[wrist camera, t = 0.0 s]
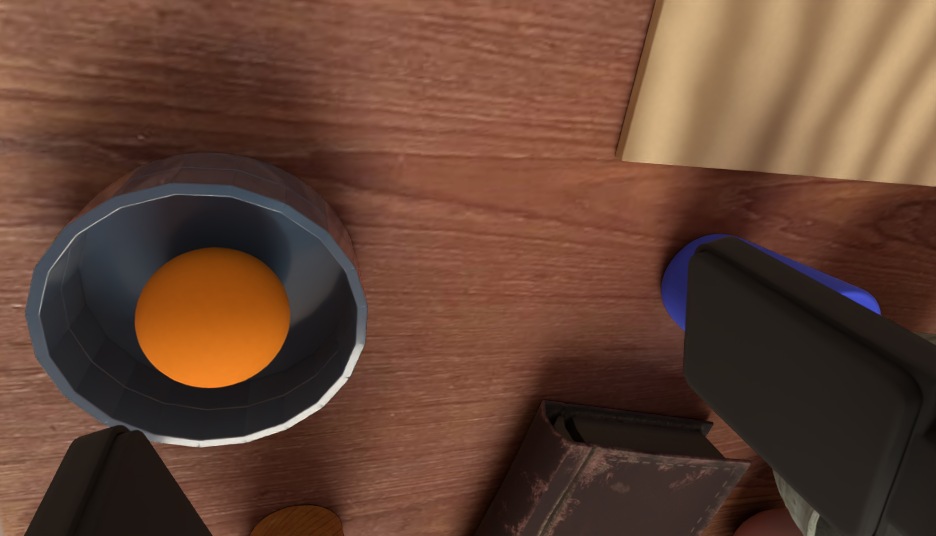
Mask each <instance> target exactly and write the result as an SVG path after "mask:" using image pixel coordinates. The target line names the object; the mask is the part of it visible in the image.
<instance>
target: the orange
mask: <svg viewBox="0 0 936 536" xmlns="http://www.w3.org/2000/svg"><path fill="white" fill-rule="evenodd" d="M289 323H290V306H289V300H288V297H287V293H286V291H285V289H284V287H283V285H282V283H281V281H280V280H279V278H278V277H277V275H276V274H275V273H274V272H273V271H272V270H271V269H270V268H269V267H268V266H267V265H266V264H265V263H263V262H262V261H260V260H259V259H257V258H256V257H254V256H252V255H250V254H247V253H245V252H242V251H239V250H235V249H230V248H222V247H210V248H201V249H196V250H193V251H190V252H186V253H184V254H181V255H179V256H177V257H175V258H173V259H171V260H170V261H168V262H167V263H165V264H164V265H163V266H162V267H160V268H159V269H158V270H157V271H156V272H155V273H154V274H153V275H152V276H151V278H150V279H149V280H148V282H147V283H146V285H145V286H144V288H143V289H142V292H141V294H140V297H139V299H138V302H137V306H136V311H135V329H136V334H137V338H138V341H139V344H140V346H141V348H142V350H143V352H144V354H145V355H146V357H147V358H148V360H149V361H150V362H151V363H152V364H153V365H154V366H155V367H156V368H157V369H158V370H159V371H161V372H162V373H163V374H165V375H166V376H168V377H169V378H171V379H173V380H175V381H177V382H180V383H183V384H186V385H190V386H194V387H202V388H217V387H224V386H229V385H233V384H236V383H239V382H241V381H244V380H246V379H248V378H250V377H252V376H254V375H255V374H257V373H258V372H260V371H261V370H262V369H263V368H265V367H266V366H267V365H268V364H269V363H270V362H271V361H272V360H273V359H274V357H275V356H276V355H277V353H278V352H279V351H280V349H281V347H282V345H283V343H284V341H285V339H286V336H287V333H288V329H289Z"/></svg>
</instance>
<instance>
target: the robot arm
mask: <svg viewBox="0 0 936 536" xmlns="http://www.w3.org/2000/svg"><path fill="white" fill-rule="evenodd" d="M683 373H684V377H685V379H686V381H687V383H688V385H689V386H690V387H691V389H692V390H693V391H694V392H695V393H696V394H697V395H698V396H699V397H700V398H701V399H702V400H703V401H704V402H705V403H706V404H707V405H708V406H710V407H711V408H712V409H713V410H714V411H715V412H716V413H717V414H718V415H719V416H720V417H721V418H722V419H723V420H724V421H725V422H726V423H727V424H728V425H729V426H730V427H731V428H732V429H733V430H734V431H735V432H736V433H737V434H738V435H739V436H740V437H741V438H742V439H743V440H744V441H745V442H746V443H747V444H748V445H749V446H750V447H751V448H752V449H753V450H754V451H755V452H756V453H757V454H758V455H759V456H760V457H761V458H762V459H763V460H764V461H765V462H766V463H767V464H768V465H769V466H770V467H771V468H772V469H773V470H774V471H775V472H777V473H778V474H779V475H780V476H781V477H782V478H783V479H784V480H785V481H786V482H787V483H788V484H789V485H790V486H791V487H792V488H793V489H794V490H795V491H796V492H797V493H798V494H799V495H800V496H801V497H802V498H803V499H804V500H805V501H806V502H807V503H808V504H809V505H810V506H811V507H812V508H813V509H814V510H815V511H816V512H817V513H818V514H819V515H820V516H821V517H822V518H823V519H824V520H825V521H826V522H827V523H828V524H829V525H830V526H831V527H832V528H833V529H834V530H835V531H836V532H837V533H839V534H840V535H841V536H936V345H935V344H933V343H931V342H929V341H927V340H926V339H924V338H922V337H920V336H918V335H916V334H915V333H913V332H911V331H909V330H907V329H905V328H903V327H902V326H900V325H898V324H896V323H894V322H892V321H890V320H889V319H887V318H885V317H883V316H881V315H879V314H877V313H876V312H874V311H872V310H870V309H868V308H866V307H864V306H863V305H861V304H859V303H857V302H855V301H853V300H852V299H850V298H848V297H846V296H844V295H842V294H840V293H839V292H837V291H835V290H833V289H831V288H829V287H827V286H826V285H824V284H822V283H820V282H818V281H816V280H814V279H813V278H811V277H809V276H807V275H805V274H803V273H801V272H800V271H798V270H796V269H794V268H792V267H790V266H788V265H787V264H785V263H783V262H781V261H779V260H777V259H776V258H774V257H772V256H770V255H768V254H766V253H764V252H763V251H761V250H759V249H757V248H755V247H753V246H751V245H750V244H748V243H746V242H744V241H742V240H740V239H738V238H736V237H733V236H726V237H723V238H719V239H716V240H713V241H710V242H707V243H703V244H701V245H699V246H698V247H697V248H696V250H695V253H694V255H693V256H691V257H690V259H689V263H688V278H687V299H686V319H685V340H684V360H683ZM24 536H212V534H211V533H210V531H209V530H208V528H207V527H206V525H205V524H204V522H203V521H202V519H201V518H200V516H199V515H198V513H197V512H196V510H195V509H194V507H193V506H192V504H191V503H190V501H189V500H188V498H187V497H186V495H185V494H184V492H183V491H182V489H181V488H180V487H179V485H178V484H177V482H176V481H175V479H174V478H173V476H172V475H171V473H170V472H169V470H168V469H167V467H166V466H165V464H164V463H163V461H162V460H161V458H160V457H159V455H158V454H157V452H156V451H155V449H154V448H153V446H152V445H151V443H150V442H149V440H148V439H147V437H146V436H145V435H144V433H143V432H141V431H140V430H133V431H130V430H129V429H128V428H127V427H125V426H124V425H116V426H113V427H110V428H107V429H103V430H100V431H97V432H94V433H91V434H87V435H84V436H81V437H78V438H77V439H75V440H74V441H73V442H72V444H71V445H70V447H69V449H68V451H67V453H66V455H65V457H64V458H63V460H62V462H61V464H60V466H59V468H58V470H57V472H56V474H55V476H54V478H53V480H52V482H51V484H50V486H49V488H48V490H47V492H46V494H45V496H44V498H43V500H42V502H41V504H40V506H39V507H38V509H37V511H36V513H35V515H34V517H33V519H32V521H31V523H30V525H29V527H28V529H27V531H26V533H25V535H24Z"/></svg>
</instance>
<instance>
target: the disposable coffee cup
mask: <svg viewBox="0 0 936 536" xmlns="http://www.w3.org/2000/svg"><path fill="white" fill-rule="evenodd" d="M250 536H344V533H343V529H342V524H341V522H340V519H339V518H338V517H337V516H336V515H335V514H334V513H333V512H331V511H330V510H327V509H325V508H323V507H318V506H312V505H301V506H293V507H289V508H284V509H282V510H279V511H276V512H274V513H272V514H270V515H268V516H267V517H266V518H264V519H263V520H261V521H260V522H259V523H258V524H257V525H256V526H255V528H254V529H253V531H252V532H251V534H250Z"/></svg>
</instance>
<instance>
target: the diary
mask: <svg viewBox="0 0 936 536" xmlns="http://www.w3.org/2000/svg"><path fill="white" fill-rule="evenodd" d="M712 426H713V422H709V421H702V420H694V419H686V418H678V417H670V416H663V415H655V414H647V413H639V412H632V411H624V410H616V409H608V408H600V407H593V406H585V405H577V404H569V403H568V404H567V405H566V404H565V403H561V402H554V401H546V400H543V401H542V403H541V405H540V407H539V409H538V411H537V413H536V415H535V417H534V419H533V421H532V423H531V425H530V428H529V430H528V432H527V434H526V436H525V438H524V440H523V442H522V444H521V447H520V449H519V451H518V453H517V455H516V457H515V459H514V461H513V463H512V466H511V468H510V470H509V472H508V474H507V476H506V478H505V480H504V481H503V483H502V485H501V487H500V489H499V491H498V492H497V494H496V496H495V498H494V500H493V502H492V503H491V505H490V507H489V509H488V511H487V513H486V514H485V516H484V518H483V520H482V522H481V524H480V525H479V527H478V529H477V531H476V533H475V535H474V536H699V535H700V534H701V533H702V532H703V531H704V530H705V528H706V527H707V526H708V525H709V523H710V522H711V521H712V519H713V518H714V516H715V515H716V513H717V512H718V511H719V509H720V508H721V506H722V505H723V503H724V502H725V501H726V499H727V498H728V496H729V495H730V493H731V492H732V491H733V489H734V488H735V486H736V485H737V483H738V482H739V481H740V479H741V478H742V476H743V475H744V473H745V472H746V471H747V469H748V468H749V466H750V465H751V461H750V460H742V459H729V458H725V457H724V456H723V455H722V454H721V453H720V452H719V451H718V450H717V449H716V448H715V447H714V446H713V445H712V444H711V442H710V441H709V440H708V439H707V438H706V437H705V436H706V435H707V433H708V432H709V430H710V429H711V427H712Z"/></svg>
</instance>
